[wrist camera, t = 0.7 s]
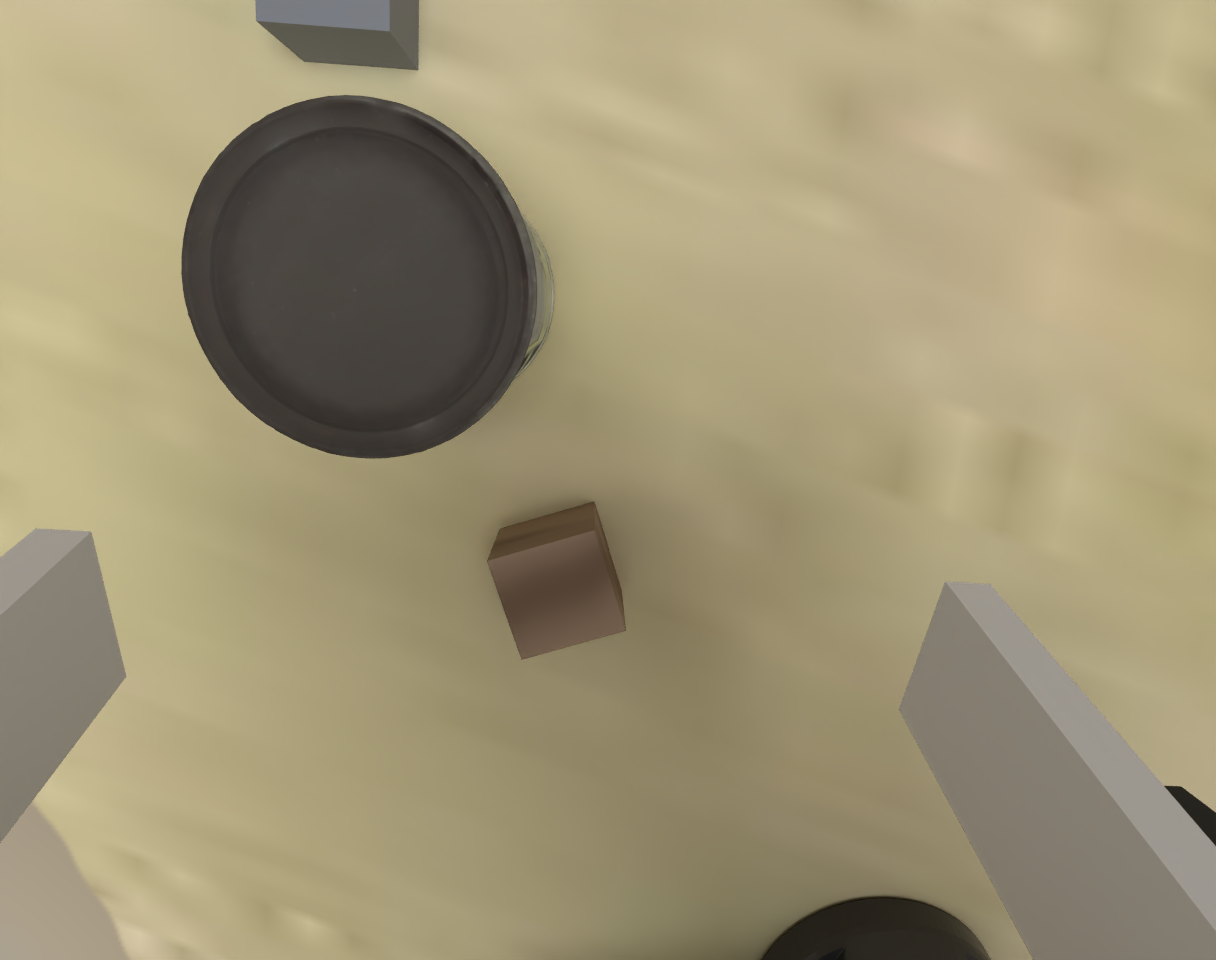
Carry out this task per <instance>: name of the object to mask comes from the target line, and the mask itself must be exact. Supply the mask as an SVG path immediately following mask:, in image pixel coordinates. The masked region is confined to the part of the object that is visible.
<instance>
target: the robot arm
mask: <svg viewBox="0 0 1216 960" xmlns="http://www.w3.org/2000/svg"><path fill="white" fill-rule="evenodd" d="M125 678H126V673H125V669H124V665H123V661H122V657H121V653H120V649H119V644H118V640H117V636H116V632H115V628H114V624H113V620H112V615H111V611H110V607H109V603H108V599H107V595H106V591H105V586H104V582H103V578H102V574H101V570H100V566H99V562H98V557H97V553H96V549H95V545H94V541H93V537H92V533H91V532H88V531H71V530H54V529H35V530H33V531H32V532H31V533H30V534H29V535H27V536H26V537H25V538H24V539H22V540H21V541H20V542H19V543H18V544H16V545H15V546H14V547H13V548H11V549H10V550H9V551H8V552H7V553H5V554H4V555H3V556H2V557H0V843H1V841H2V840H3V839H4V838H5V836H6V835H7V834H8V832H9V831H10V829H11V828H12V827H13V826H14V824H15V823H16V822H17V820H18V819H19V817H20V816H21V815H22V814H23V812H24V811H25V810H26V808H27V807H28V806H29V805H30V803H31V802H32V801H33V799H34V798H35V797H36V795H37V794H38V793H39V791H40V790H41V789H42V787H43V786H44V785H45V783H46V782H47V781H48V779H49V778H50V777H51V775H52V774H53V773H54V771H55V770H56V769H57V768H58V766H59V765H60V764H61V762H62V761H63V760H64V758H65V757H66V756H67V754H68V753H69V752H70V750H71V749H72V748H73V746H74V745H75V744H76V742H77V741H78V740H79V738H80V737H81V736H82V734H83V733H84V732H85V730H86V729H87V728H88V727H89V725H90V724H91V723H92V721H93V720H94V719H95V717H96V716H97V715H98V713H99V712H100V711H101V709H102V708H103V707H104V705H105V704H106V703H107V701H108V700H109V699H110V697H111V696H112V695H113V693H114V692H115V691H116V689H117V688H118V687H119V686H120V684H121V683H122V682H123V680H124V679H125ZM899 711H900V713H901V714H902V716H903V718H904V720H905V722H906V724H907V726H908V727H909V729H910V731H911V733H912V735H913V737H914V739H915V740H916V742H917V744H918V746H919V748H920V750H921V752H922V753H923V755H924V757H925V759H926V761H927V763H928V765H929V766H930V768H931V770H932V772H933V774H934V776H935V778H936V779H937V781H938V783H939V785H940V787H941V789H942V791H943V793H944V794H945V796H946V798H947V800H948V802H949V804H950V806H951V807H952V809H953V811H954V813H955V815H956V817H957V819H958V820H959V822H960V824H961V826H962V828H963V830H964V832H965V833H966V835H967V837H968V839H969V841H970V843H971V845H972V846H973V848H974V850H975V852H976V854H977V856H978V858H979V859H980V861H981V863H982V865H983V867H984V869H985V871H986V873H987V874H988V876H989V878H990V880H991V882H992V884H993V886H994V887H995V889H996V891H997V893H998V895H999V897H1000V899H1001V900H1002V902H1003V904H1004V906H1005V908H1006V910H1007V912H1008V913H1009V915H1010V917H1011V919H1012V921H1013V923H1014V925H1015V926H1016V928H1017V930H1018V932H1019V934H1020V936H1021V938H1022V939H1023V941H1024V943H1025V945H1026V947H1027V949H1028V951H1029V953H1030V954H1031V956H1032V958H1033V960H1216V813H1215V812H1214V811H1213V810H1211V809H1210V808H1209V807H1208V806H1206V805H1205V804H1204V803H1202V802H1201V801H1200V800H1198V799H1197V798H1196V797H1194V796H1193V795H1192V794H1190V793H1189V792H1188V791H1186V790H1185V789H1184V788H1182V787H1181V786H1163V784H1162V783H1161V782H1160V781H1159V780H1158V779H1157V777H1156V776H1155V775H1154V774H1153V773H1152V772H1151V770H1150V769H1149V768H1148V767H1147V766H1146V765H1145V763H1144V762H1143V761H1142V760H1141V759H1140V758H1139V756H1138V755H1137V754H1136V753H1135V752H1134V751H1133V750H1132V748H1131V747H1130V746H1129V745H1128V744H1127V743H1126V741H1125V740H1124V739H1123V738H1122V737H1121V736H1120V734H1119V733H1118V732H1117V731H1116V730H1115V729H1114V727H1113V726H1112V725H1111V724H1110V723H1109V722H1108V720H1107V719H1106V718H1105V717H1104V716H1103V715H1102V713H1101V712H1100V711H1099V710H1098V709H1097V708H1096V707H1095V705H1094V704H1093V703H1092V702H1091V701H1090V700H1089V698H1088V697H1087V696H1086V695H1085V694H1084V693H1083V691H1082V690H1081V689H1080V688H1079V687H1078V686H1077V684H1076V683H1075V682H1074V681H1073V680H1072V679H1071V677H1070V676H1069V675H1068V674H1067V673H1066V672H1065V671H1064V669H1063V668H1062V667H1061V666H1060V665H1059V664H1058V662H1057V661H1056V660H1055V659H1054V658H1053V657H1052V655H1051V654H1050V653H1049V652H1048V651H1047V650H1046V648H1045V647H1044V646H1043V645H1042V644H1041V643H1040V641H1039V640H1038V639H1037V638H1036V637H1035V636H1034V634H1033V633H1032V632H1031V631H1030V630H1029V629H1028V628H1027V626H1026V625H1025V624H1024V623H1023V622H1022V621H1021V619H1020V618H1019V617H1018V616H1017V615H1016V614H1015V612H1014V611H1013V610H1012V609H1011V608H1010V607H1009V605H1008V604H1007V603H1006V602H1005V601H1004V600H1003V598H1002V597H1001V596H1000V595H999V594H998V593H997V591H996V590H995V589H994V588H993V587H992V586H991V585H990V584H979V583H962V582H945V584H944V586H943V589H942V592H941V595H940V597H939V600H938V603H937V606H936V609H935V611H934V614H933V617H932V620H931V622H930V625H929V628H928V631H927V633H926V636H925V639H924V642H923V644H922V647H921V650H920V653H919V655H918V658H917V661H916V664H915V666H914V669H913V672H912V675H911V677H910V680H909V683H908V686H907V688H906V691H905V694H904V697H903V699H902V702H901V705H900V708H899ZM763 960H991V958H990V957H989V955H988V953H987V952H986V950H985V949H984V947H983V945H982V944H981V942H980V941H979V940H978V939H977V937H976V936H975V935H974V934H973V933H972V932H971V931H970V930H969V929H968V928H967V927H966V926H965V925H963V924H962V923H961V922H960V921H958V920H957V919H955V918H954V917H952V916H950V915H949V914H947V913H945V912H943V911H941V910H938V909H936V908H934V907H931V906H928V905H925V904H921V903H918V902H913V901H908V900H901V899H867V900H859V901H854V902H849V903H845V904H841V905H838V906H835V907H832V908H829V909H827V910H824V911H822V912H820V913H817V914H815V915H813V916H811V917H810V918H808V919H806V920H804V921H803V922H801V923H799V924H798V925H796V926H795V927H794V928H792V929H791V930H790V931H788V932H787V933H786V934H785V935H784V936H782V937H781V938H780V939H779V940H778V941H777V942H776V943H775V944H774V946H773V947H772V948H771V949H770V950H769V951H768V953H767V954H766V955H765V957H764V958H763Z"/></svg>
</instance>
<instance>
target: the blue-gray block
mask: <svg viewBox="0 0 1216 960" xmlns="http://www.w3.org/2000/svg"><path fill="white" fill-rule="evenodd" d="M256 21H257V22H258V23H259V24H260V25H262V26H263V27H264V28H265V29H266V30H268V31H269V32H270V33H271V34H272V35H273V36H275V37H276V38H277V39H278V40H279V41H281V42H282V43H283V44H284V45H285V46H286V47H288V48H289V49H290V50H291V51H292V52H294V53H295V54H296V55H297V56H298V57H299V58H301V59H302V60H303V61H304V62H317V63H330V64H343V65H357V66H370V67H383V68H397V69H410V70H418V31H419V0H256Z"/></svg>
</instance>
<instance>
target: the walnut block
mask: <svg viewBox="0 0 1216 960" xmlns="http://www.w3.org/2000/svg"><path fill="white" fill-rule="evenodd" d="M487 562H488V565H489V568H490V571H491V574H492V576H493V579H494V582H495V585H496V588H497V591H498V594H499V596H500V599H501V602H502V605H503V608H504V611H505V614H506V617H507V619H508V622H509V625H510V628H511V631H512V634H513V637H514V640H515V642H516V645H517V648H518V651H519V654H520V657H521V660H522V659H526V658H529V657H533V656H537V655H540V654H544V653H547V652H551V651H554V650H558V649H562V648H565V647H569V646H572V645H576V644H579V643H583V642H587V641H590V640H594V639H597V638H601V637H604V636H608V635H612V634H615V633H619V632H622V631H626V627H625V617H624V608H623V598H622V590H621V587H620V583H619V580H618V577H617V574H616V570H615V567H614V564H613V561H612V557H611V554H610V551H609V548H608V544H607V541H606V538H605V535H604V531H603V528H602V525H601V522H600V518H599V515H598V512H597V509H596V505H595V502H591V503H588V504H584V505H581V506H577V507H574V508H570V509H567V510H563V511H560V512H556V513H553V514H550V515H546V516H543V517H539V518H536V519H532V520H529V521H525V522H522V523H518V524H515V525H511V526H508V527H504V528H501V529H500V530H499V533H498V535H497V538H496V540H495V543H494V545H493V548H492V550H491V553H490V555H489V558H488V560H487Z"/></svg>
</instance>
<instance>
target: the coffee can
mask: <svg viewBox="0 0 1216 960" xmlns="http://www.w3.org/2000/svg"><path fill="white" fill-rule="evenodd" d="M182 283H183V291H184V298H185V303H186V307H187V310H188V315H189V317H190V320H191V323H192V326H193V329H194V332H195V334H196V337H197V339H198V341H199V343H200V345H201V347H202V349H203V351H204V353H205V355H206V357H207V358H208V360H209V362H210V363H211V365H212V367H213V369H214V370H215V371H216V373H217V374H218V376H219V378H220V379H221V380H222V382H223V383H224V384H225V385H226V387H227V388H228V389H229V391H230V392H231V393H232V394H233V395H234V397H235V398H236V399H237V400H238V401H239V402H240V403H242V404H243V405H244V406H245V407H246V408H247V409H248V410H249V411H250V412H251V413H253V414H254V415H255V416H256V417H258V418H259V419H260V420H261V421H263V422H264V423H266V424H267V425H269V426H271V427H272V428H274V429H275V430H277V431H278V432H280V433H282V434H284V435H286V436H288V437H290V438H292V439H293V440H296V441H298V442H300V443H302V444H304V445H307V446H309V447H312V448H315V449H318V450H321V451H324V452H327V453H330V454H336V455H341V456H347V457H356V458H389V457H397V456H403V455H409V454H413V453H417V452H422V451H425V450H427V449H430V448H432V447H435V446H437V445H440V444H442V443H444V442H446V441H448V440H451V439H452V438H454V437H456V436H457V435H459V434H461V433H462V432H464V431H465V430H467V429H468V428H469V427H471V426H472V425H473V424H475V423H476V422H477V421H479V420H480V419H481V418H482V417H483V416H484V415H485V414H486V413H487V412H488V411H489V410H490V409H491V408H492V407H493V406H494V405H495V404H496V403H497V402H498V401H499V400H500V398H501V397H502V396H503V394H504V393H505V391H506V390H507V389H508V387H509V386H510V384H511V382H512V381H513V380H514V379H515V378H516V377H517V376H519V375H520V374H521V373H522V372H523V371H524V370H525V369H526V368H527V367H528V366H529V364H530V363H531V362H532V360H533V359H534V358H535V356H536V355H537V353H538V352H539V350H540V348H541V346H542V345H543V343H544V341H545V339H546V336H547V334H548V331H549V328H550V324H551V320H552V315H553V308H554V282H553V275H552V270H551V266H550V262H549V258H548V255H547V253H546V250H545V248H544V246H543V244H542V242H541V240H540V238H539V236H538V235H537V233H536V231H535V230H534V228H533V227H532V226H531V224H530V223H529V222H528V221H527V219H526V218H525V217H524V215H523V214H522V213H521V212H520V211H519V209H518V207H517V205H516V203H515V201H514V199H513V198H512V196H511V194H510V193H509V191H508V189H507V187H506V186H505V184H504V182H503V181H502V179H501V178H500V177H499V175H498V174H497V173H496V171H495V170H494V169H493V168H492V166H491V165H490V164H489V163H488V162H487V160H486V159H485V158H484V157H483V156H482V155H481V154H480V153H479V152H478V151H477V150H475V149H474V148H473V147H472V146H471V145H470V144H469V143H468V142H467V141H466V140H465V139H463V138H462V137H461V136H459V135H458V134H457V133H455V132H454V131H453V130H451V129H450V128H448V127H447V126H446V125H444V124H442V123H441V122H439V121H437V120H436V119H434V118H432V117H431V116H429V115H426V114H424V113H422V112H420V111H418V110H416V109H413V108H411V107H408V106H405V105H403V104H400V103H396V102H392V101H387V100H382V99H378V98H373V97H365V96H351V95H342V96H326V97H321V98H316V99H310V100H306V101H302V102H299V103H295V104H293V105H290V106H287V107H284V108H282V109H280V110H278V111H275V112H273V113H271V114H269V115H267V116H265V117H264V118H263V119H261V120H260V121H258V122H256V123H254V124H252V125H251V126H250V127H248V128H247V129H246V130H244V131H243V132H242V133H241V134H239V135H238V136H237V137H236V138H235V139H233V140H232V141H231V142H230V144H229V145H228V146H227V147H226V148H225V149H224V150H223V151H222V152H221V153H220V154H219V155H218V157H217V158H216V160H215V161H214V162H213V164H212V165H211V167H210V168H209V170H208V171H207V173H206V174H205V176H204V177H203V179H202V181H201V183H200V186H199V188H198V190H197V192H196V194H195V197H194V200H193V202H192V205H191V208H190V212H189V215H188V218H187V223H186V228H185V233H184V239H183V248H182Z"/></svg>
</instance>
